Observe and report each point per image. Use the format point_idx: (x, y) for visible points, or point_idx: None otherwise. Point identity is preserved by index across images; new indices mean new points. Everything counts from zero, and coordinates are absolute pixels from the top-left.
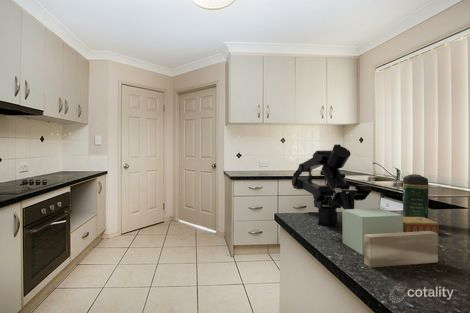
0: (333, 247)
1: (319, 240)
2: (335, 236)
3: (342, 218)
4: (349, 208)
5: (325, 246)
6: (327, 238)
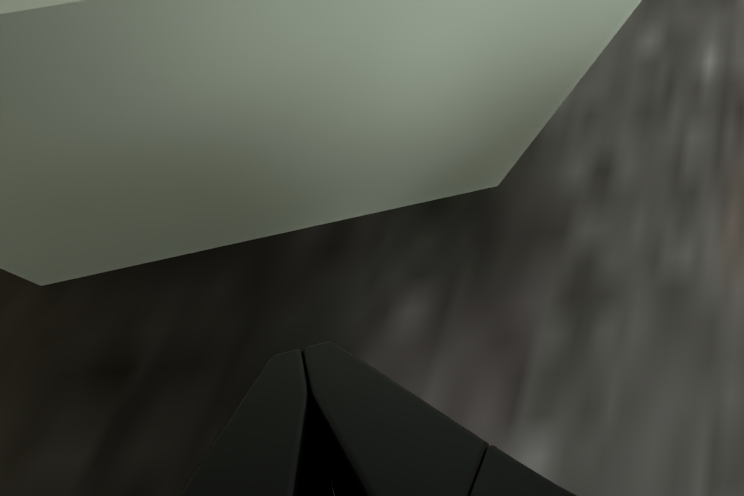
0: (617, 58)
1: (728, 244)
2: (523, 405)
3: (620, 26)
4: (386, 384)
5: (687, 79)
6: (633, 319)
